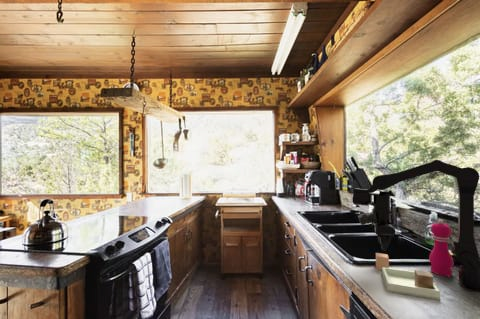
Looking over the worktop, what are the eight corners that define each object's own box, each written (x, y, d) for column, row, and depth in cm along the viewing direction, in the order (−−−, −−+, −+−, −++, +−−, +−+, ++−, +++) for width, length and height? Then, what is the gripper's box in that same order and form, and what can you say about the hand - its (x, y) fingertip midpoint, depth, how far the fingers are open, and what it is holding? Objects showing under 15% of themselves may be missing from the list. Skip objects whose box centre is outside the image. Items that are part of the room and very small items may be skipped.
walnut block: (429, 287, 82) (429, 271, 82) (433, 293, 78) (433, 276, 78) (414, 284, 83) (414, 269, 83) (418, 290, 80) (417, 274, 80)
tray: (426, 280, 88) (426, 273, 88) (440, 300, 75) (440, 291, 75) (382, 274, 93) (382, 267, 93) (388, 291, 80) (387, 283, 80)
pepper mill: (431, 274, 93) (430, 220, 93) (427, 267, 99) (426, 216, 100) (456, 278, 89) (455, 222, 90) (450, 270, 96) (450, 218, 96)
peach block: (387, 267, 99) (387, 254, 99) (388, 271, 96) (388, 257, 96) (375, 265, 101) (375, 253, 101) (377, 269, 97) (376, 256, 97)
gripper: (357, 202, 110) (358, 238, 110) (360, 209, 93) (361, 251, 93) (387, 203, 106) (387, 241, 106) (395, 211, 89) (395, 256, 89)
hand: (382, 246), depth 98 cm, fingers open, 9 cm apart
